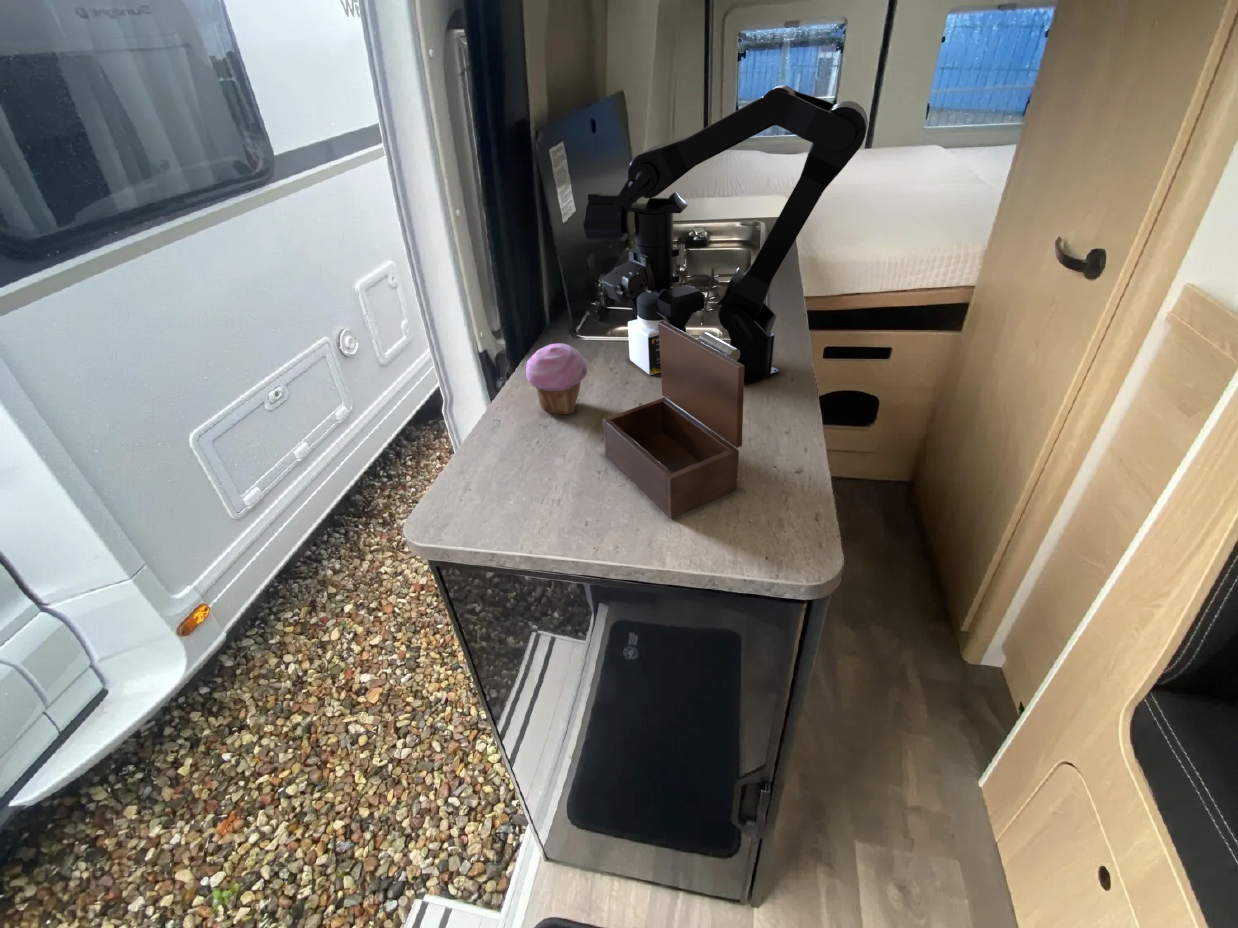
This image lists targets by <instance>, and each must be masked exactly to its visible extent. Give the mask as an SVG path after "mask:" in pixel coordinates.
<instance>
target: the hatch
mask: <svg viewBox="0 0 1238 928" xmlns="http://www.w3.org/2000/svg"><path fill="white" fill-rule="evenodd" d="M658 329H659V346H660V363H661V372H660V376H661V377H660V379H661V394H662V396H663V397H665V398H666V399H667V400H669V401H670V402H672V403H673V404H675V405H676V406H677V407H679V408H680V409H682V410H683V411H684V412H686V413H687V414H688V415H690V416H691V417H693V418H694V419H695V420H697V421H698V422H700V423H701V424H702V425H704V426H705V427H707V428H708V429H709V430H711V431H712V432H714V433H715V434H716V435H718V436H719V437H721V438H722V439H723V440H725V441H726V442H728V443H729V444H730V445H732V446H733V447H734V448H736V449H738V448H740V447H743V425H744V421H743V420H744V419H743V418H744V397H745V396H744V395H745V394H744V393H745V392H744V391H745V383H744V365H742V364H740V363H739V362H737V360H738V359H739V357H740V351H739V350H738V349H736V348H734V347H733V346H731V345H730V343H729V344H728V343H727V342H725V341H724V340H722V339H719V338H718V337H715V336H714V335H712V334H710V333H708V332H702V333H701V334H700V335H699V337H698V338H696V337H694V336H692V335H690V334H688V333H687V332H686V333H684V332H683V331H681V330H679V329H677V328H675V327H674V326H672V325H670V324H668V323H666V322H665V321H661V322H658Z"/></svg>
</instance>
